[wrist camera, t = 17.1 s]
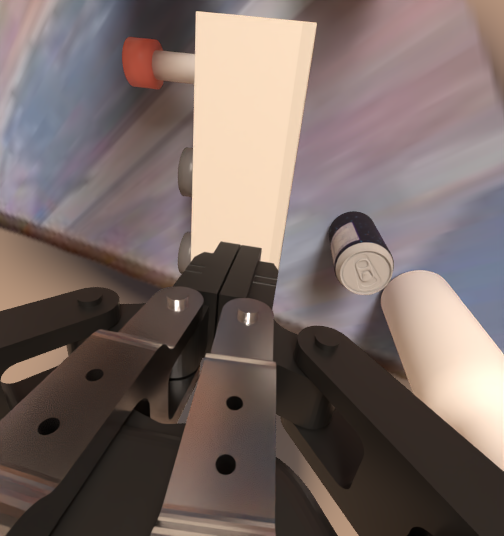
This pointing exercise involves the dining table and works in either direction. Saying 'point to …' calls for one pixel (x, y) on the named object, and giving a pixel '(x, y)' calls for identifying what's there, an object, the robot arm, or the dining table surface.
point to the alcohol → (448, 358)
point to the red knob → (155, 64)
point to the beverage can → (359, 254)
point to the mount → (246, 128)
